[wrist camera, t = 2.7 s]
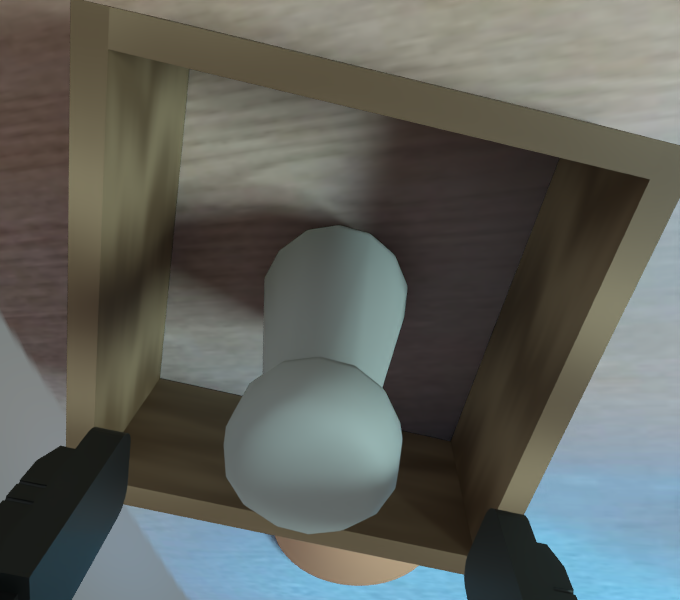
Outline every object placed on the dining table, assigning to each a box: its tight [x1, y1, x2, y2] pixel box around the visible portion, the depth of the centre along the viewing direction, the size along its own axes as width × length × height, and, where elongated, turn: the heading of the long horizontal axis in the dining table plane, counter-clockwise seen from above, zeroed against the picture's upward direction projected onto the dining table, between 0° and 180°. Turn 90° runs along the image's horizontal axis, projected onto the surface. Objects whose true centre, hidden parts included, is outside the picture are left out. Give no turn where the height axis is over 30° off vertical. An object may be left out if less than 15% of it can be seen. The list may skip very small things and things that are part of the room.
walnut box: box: [66, 0, 680, 574], centre depth 20 cm, size 17×17×7 cm
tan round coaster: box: [275, 536, 419, 586], centre depth 29 cm, size 9×9×1 cm
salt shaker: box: [224, 225, 408, 534], centre depth 18 cm, size 6×6×13 cm
